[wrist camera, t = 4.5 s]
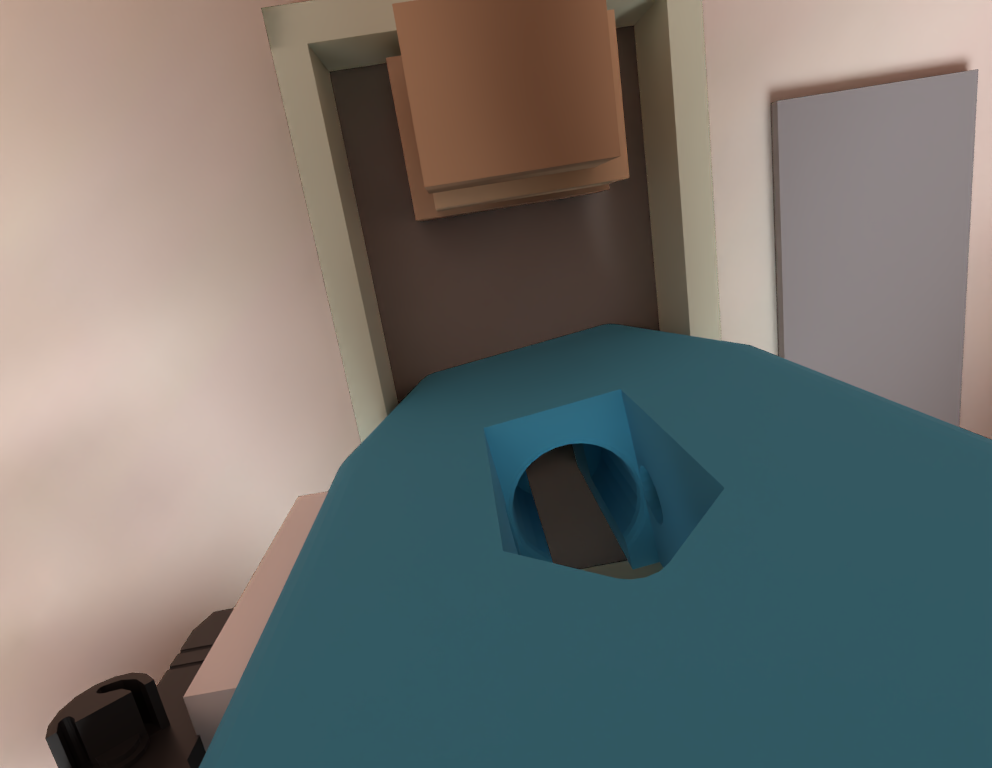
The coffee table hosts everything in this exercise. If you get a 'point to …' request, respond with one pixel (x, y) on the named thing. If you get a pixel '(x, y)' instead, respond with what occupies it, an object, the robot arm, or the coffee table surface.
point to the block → (643, 601)
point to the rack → (333, 209)
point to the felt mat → (877, 235)
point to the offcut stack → (507, 102)
